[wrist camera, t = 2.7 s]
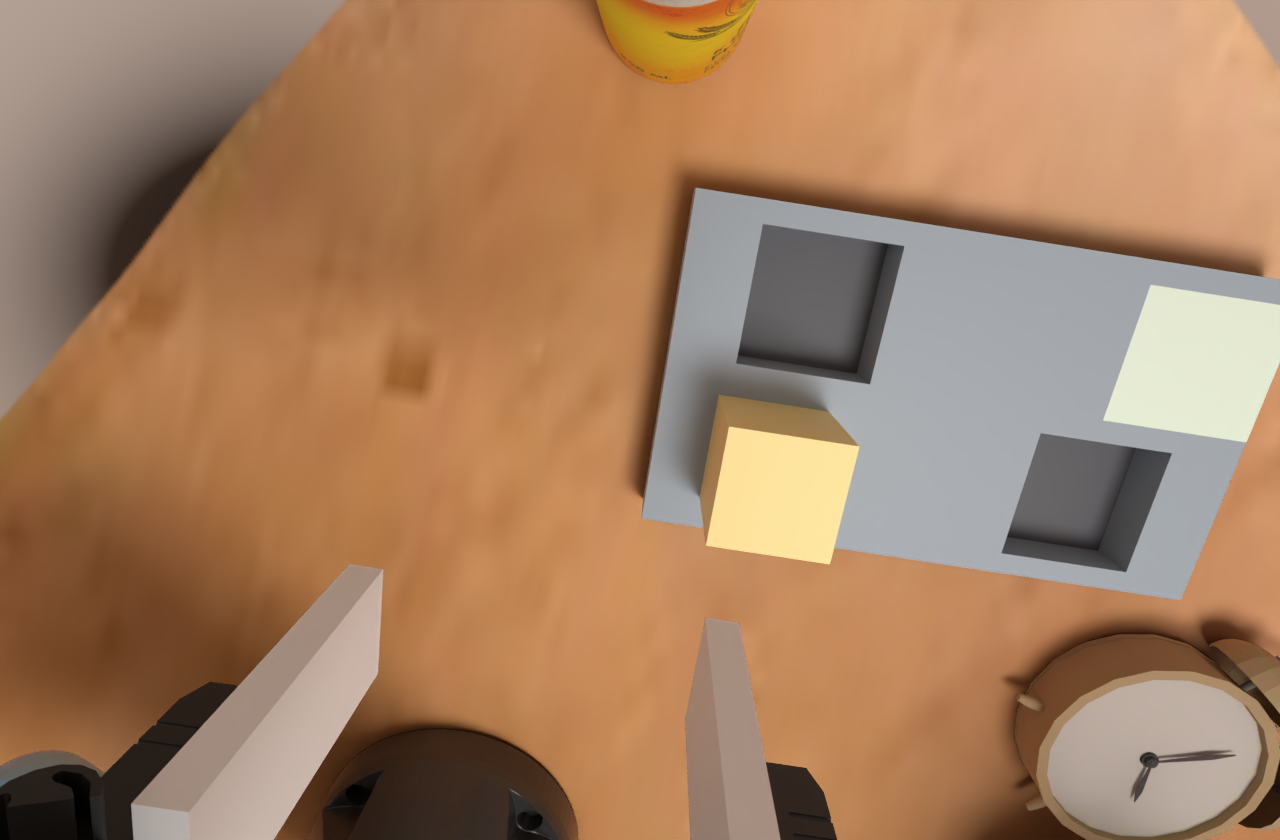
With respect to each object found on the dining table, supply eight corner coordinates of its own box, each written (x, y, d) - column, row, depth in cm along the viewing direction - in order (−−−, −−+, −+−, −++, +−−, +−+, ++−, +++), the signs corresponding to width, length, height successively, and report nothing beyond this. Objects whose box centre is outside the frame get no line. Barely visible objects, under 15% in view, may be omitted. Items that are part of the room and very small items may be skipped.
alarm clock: (1022, 684, 34) (1397, 668, 30) (995, 626, 39) (1317, 606, 35) (1036, 859, 37) (1380, 865, 33) (1009, 786, 42) (1309, 784, 38)
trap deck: (642, 499, 35) (641, 518, 33) (693, 190, 31) (696, 187, 29) (1146, 575, 35) (1180, 600, 33) (1264, 279, 31) (1311, 284, 29)
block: (699, 497, 32) (705, 545, 28) (718, 394, 31) (729, 426, 26) (804, 513, 32) (829, 564, 28) (829, 411, 31) (859, 446, 26)
